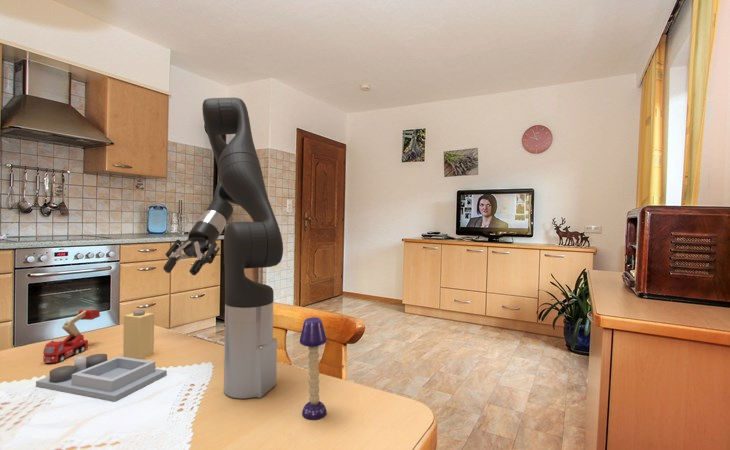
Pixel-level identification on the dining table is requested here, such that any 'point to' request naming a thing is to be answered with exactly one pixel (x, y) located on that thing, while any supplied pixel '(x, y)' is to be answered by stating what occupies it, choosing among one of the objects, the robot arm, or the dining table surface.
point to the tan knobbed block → (138, 335)
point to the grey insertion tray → (102, 376)
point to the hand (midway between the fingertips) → (178, 272)
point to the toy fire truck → (69, 339)
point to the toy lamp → (313, 365)
